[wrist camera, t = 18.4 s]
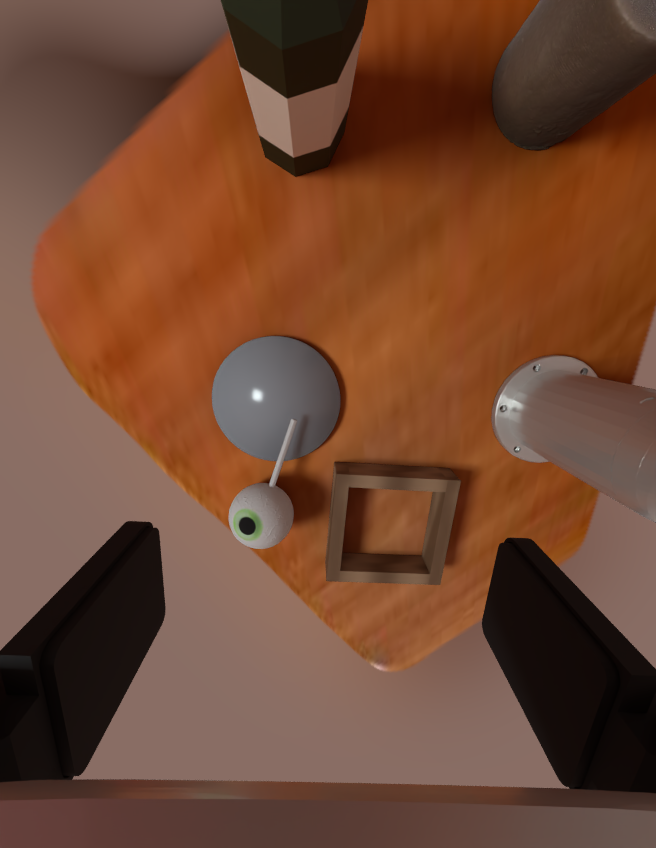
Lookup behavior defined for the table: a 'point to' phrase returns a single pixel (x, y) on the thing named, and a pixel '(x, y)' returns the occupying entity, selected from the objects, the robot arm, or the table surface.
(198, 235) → the table surface
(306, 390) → the gray round disc
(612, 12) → the pillar candle
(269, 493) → the eyeball on stick
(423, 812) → the robot arm
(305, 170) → the wine bottle
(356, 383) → the table surface
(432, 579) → the frame
